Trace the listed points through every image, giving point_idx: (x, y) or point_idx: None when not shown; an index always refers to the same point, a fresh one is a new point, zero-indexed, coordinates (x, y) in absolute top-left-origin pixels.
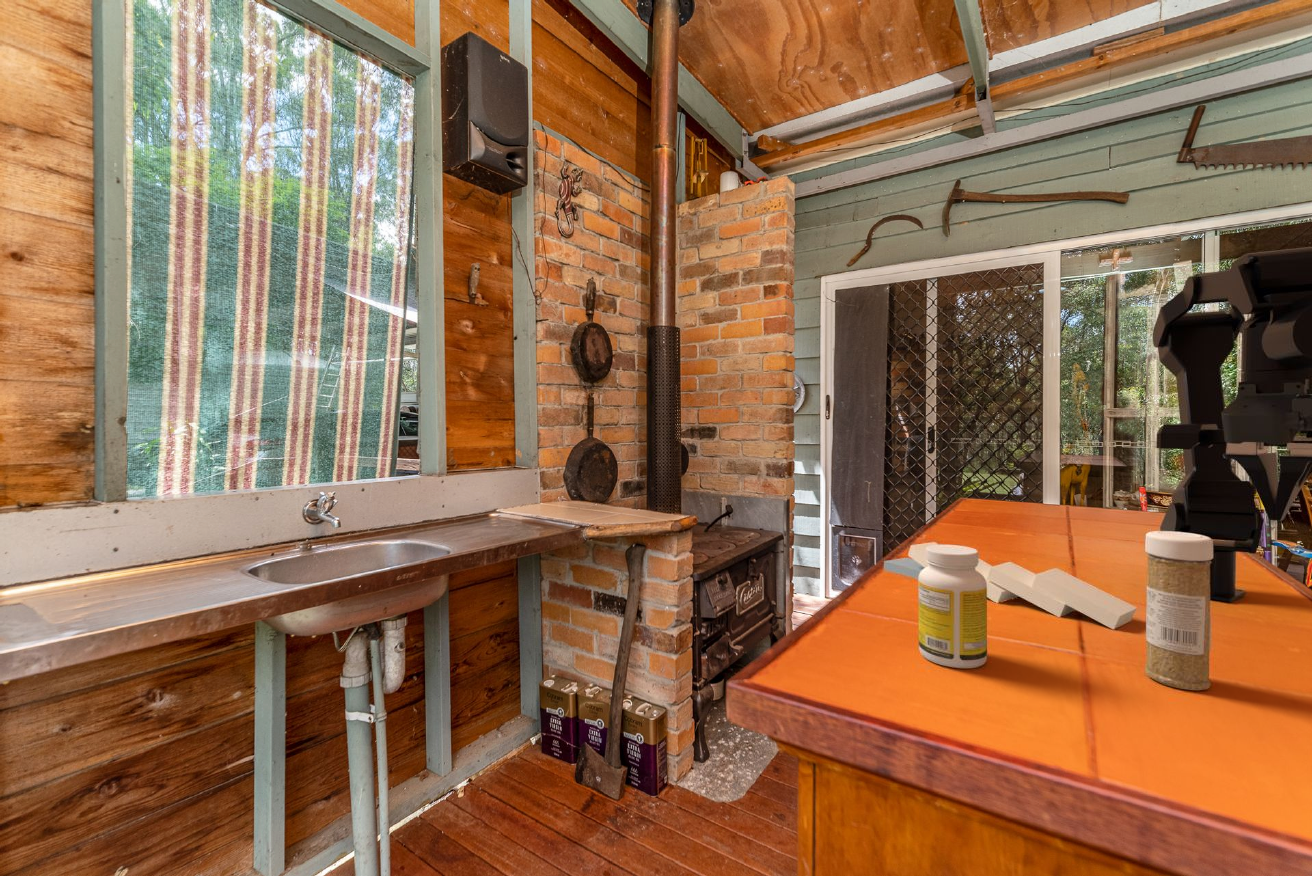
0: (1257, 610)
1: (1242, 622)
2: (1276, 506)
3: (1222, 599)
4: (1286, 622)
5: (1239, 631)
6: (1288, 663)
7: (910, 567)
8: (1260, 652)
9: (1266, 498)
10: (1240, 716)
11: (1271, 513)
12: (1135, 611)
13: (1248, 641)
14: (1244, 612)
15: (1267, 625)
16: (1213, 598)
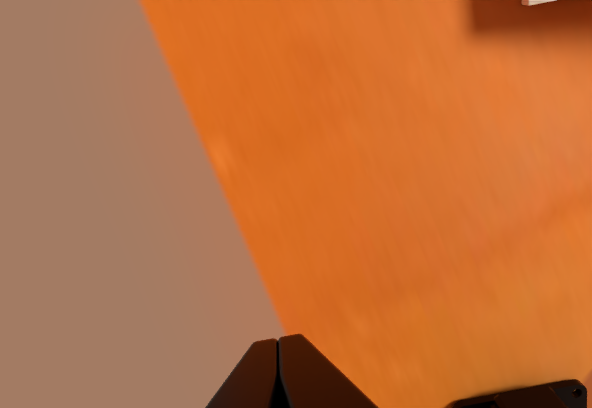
0: (396, 402)
1: (370, 272)
2: (264, 376)
3: (466, 402)
4: None
5: (341, 187)
6: (173, 22)
7: None
8: (241, 51)
9: (319, 393)
10: None
11: (292, 351)
12: (526, 3)
13: (295, 120)
14: (403, 360)
15: (333, 299)
16: (483, 396)
